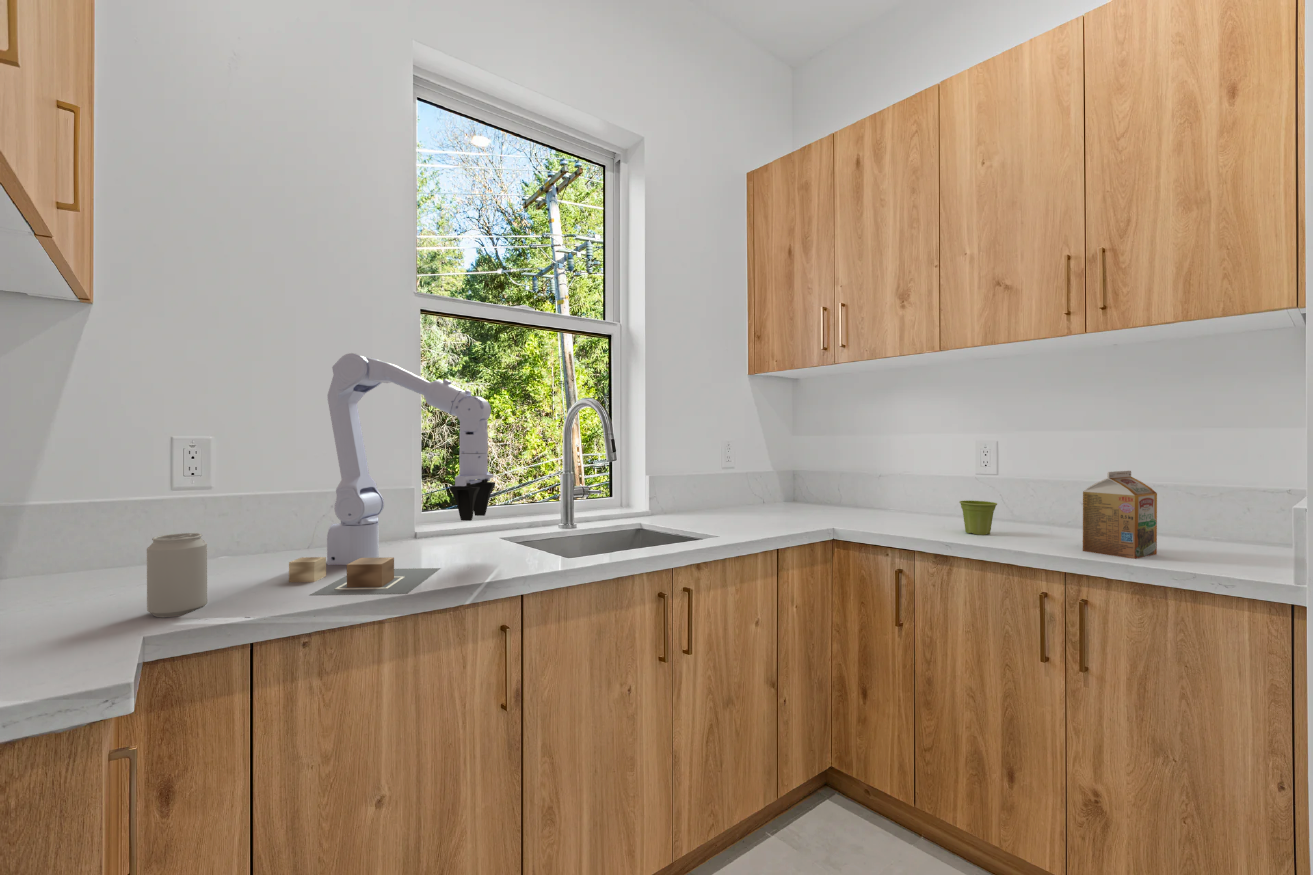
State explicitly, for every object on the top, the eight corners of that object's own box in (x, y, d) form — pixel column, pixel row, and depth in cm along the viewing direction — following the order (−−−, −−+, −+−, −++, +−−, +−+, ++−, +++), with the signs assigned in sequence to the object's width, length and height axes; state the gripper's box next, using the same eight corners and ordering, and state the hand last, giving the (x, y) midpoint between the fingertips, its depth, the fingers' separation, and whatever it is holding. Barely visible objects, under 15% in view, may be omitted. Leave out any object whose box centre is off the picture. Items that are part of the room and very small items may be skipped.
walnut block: (346, 587, 110) (346, 564, 110) (360, 579, 116) (360, 557, 116) (381, 586, 111) (381, 564, 110) (394, 578, 117) (394, 557, 116)
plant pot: (990, 531, 178) (990, 500, 178) (1002, 536, 169) (1002, 504, 169) (955, 530, 180) (955, 500, 180) (964, 535, 171) (964, 503, 171)
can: (156, 608, 100) (156, 533, 100) (212, 603, 103) (212, 530, 103) (139, 621, 93) (139, 540, 93) (200, 615, 96) (200, 537, 96)
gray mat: (309, 599, 105) (309, 594, 105) (359, 573, 125) (359, 568, 125) (407, 598, 106) (407, 592, 106) (440, 572, 126) (440, 567, 126)
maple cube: (289, 586, 114) (288, 562, 114) (301, 581, 119) (301, 557, 119) (314, 586, 114) (314, 561, 114) (326, 580, 119) (326, 557, 119)
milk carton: (1134, 558, 139) (1134, 473, 139) (1082, 551, 148) (1083, 470, 148) (1156, 554, 145) (1157, 471, 144) (1105, 547, 154) (1105, 469, 154)
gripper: (479, 454, 124) (479, 523, 125) (503, 452, 139) (503, 513, 139) (445, 454, 125) (444, 522, 125) (472, 452, 139) (472, 513, 140)
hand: (473, 517), depth 132 cm, fingers open, 7 cm apart
